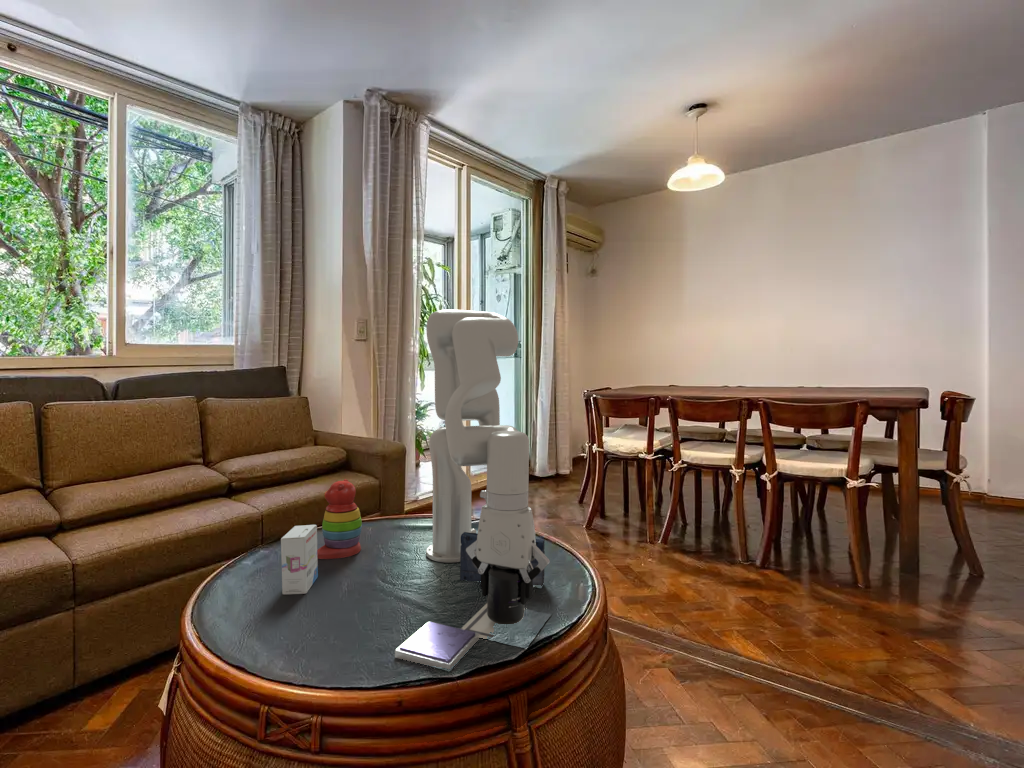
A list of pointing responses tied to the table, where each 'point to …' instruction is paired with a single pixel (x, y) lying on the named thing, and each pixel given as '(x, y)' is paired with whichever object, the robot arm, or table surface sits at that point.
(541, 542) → the vhs cassette tape
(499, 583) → the supplement bottle
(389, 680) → the table surface
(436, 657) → the ink pad
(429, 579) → the table surface
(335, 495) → the stacking bear
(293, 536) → the ink box
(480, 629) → the marked card
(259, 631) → the table surface
